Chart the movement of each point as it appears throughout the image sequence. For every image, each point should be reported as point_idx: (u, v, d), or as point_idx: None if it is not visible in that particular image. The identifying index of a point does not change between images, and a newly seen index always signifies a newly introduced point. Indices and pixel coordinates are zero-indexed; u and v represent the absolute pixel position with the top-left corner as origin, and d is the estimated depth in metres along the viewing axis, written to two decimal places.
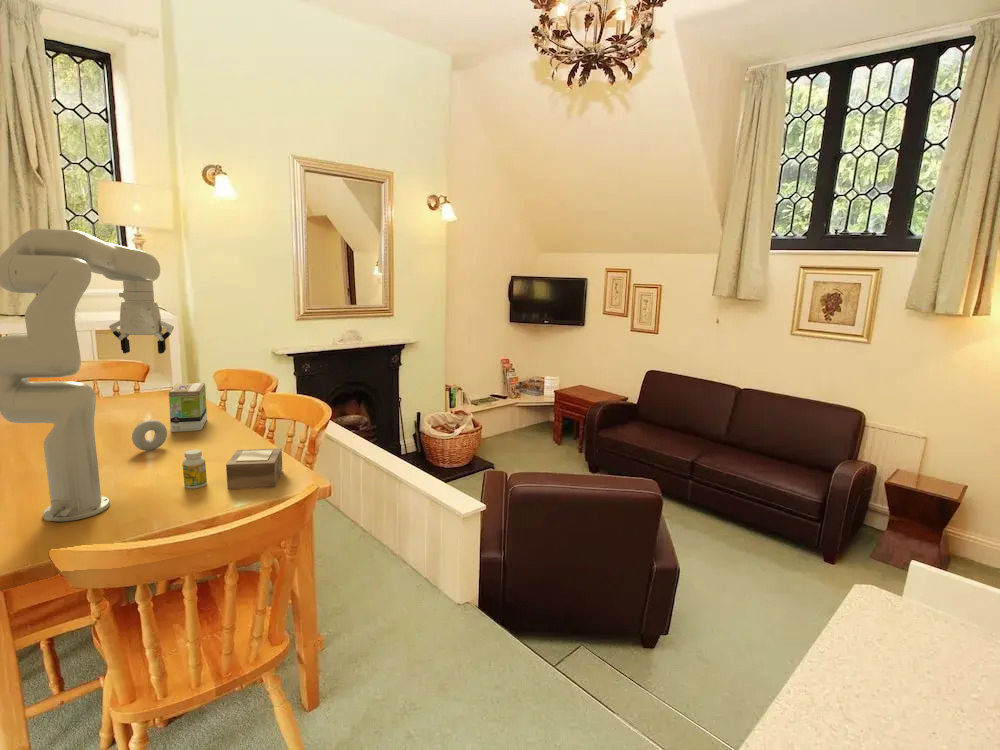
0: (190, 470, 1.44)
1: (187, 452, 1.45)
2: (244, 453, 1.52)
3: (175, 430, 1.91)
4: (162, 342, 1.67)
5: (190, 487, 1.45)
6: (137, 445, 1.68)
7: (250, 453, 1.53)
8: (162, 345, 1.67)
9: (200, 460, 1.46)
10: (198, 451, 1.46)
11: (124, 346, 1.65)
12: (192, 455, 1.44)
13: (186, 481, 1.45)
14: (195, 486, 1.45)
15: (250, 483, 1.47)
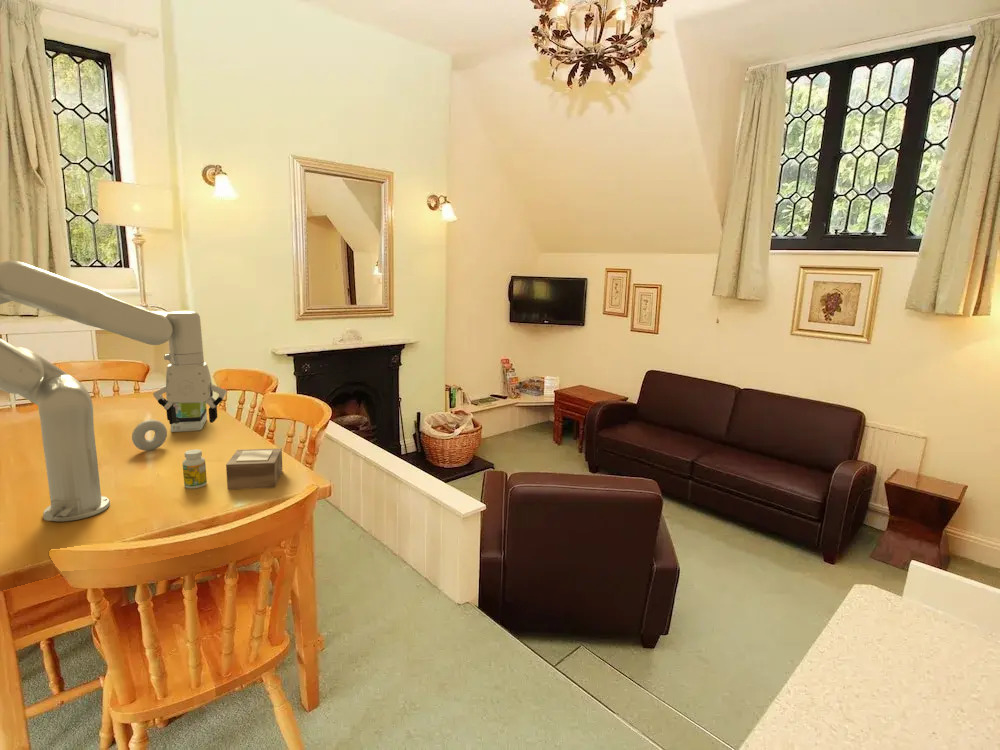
0: (190, 470, 1.44)
1: (187, 452, 1.45)
2: (244, 453, 1.52)
3: (175, 430, 1.91)
4: (214, 409, 1.44)
5: (190, 487, 1.45)
6: (137, 445, 1.68)
7: (250, 453, 1.53)
8: (214, 413, 1.44)
9: (200, 460, 1.46)
10: (198, 451, 1.46)
11: (171, 416, 1.42)
12: (192, 455, 1.44)
13: (186, 481, 1.45)
14: (195, 486, 1.45)
15: (250, 483, 1.47)
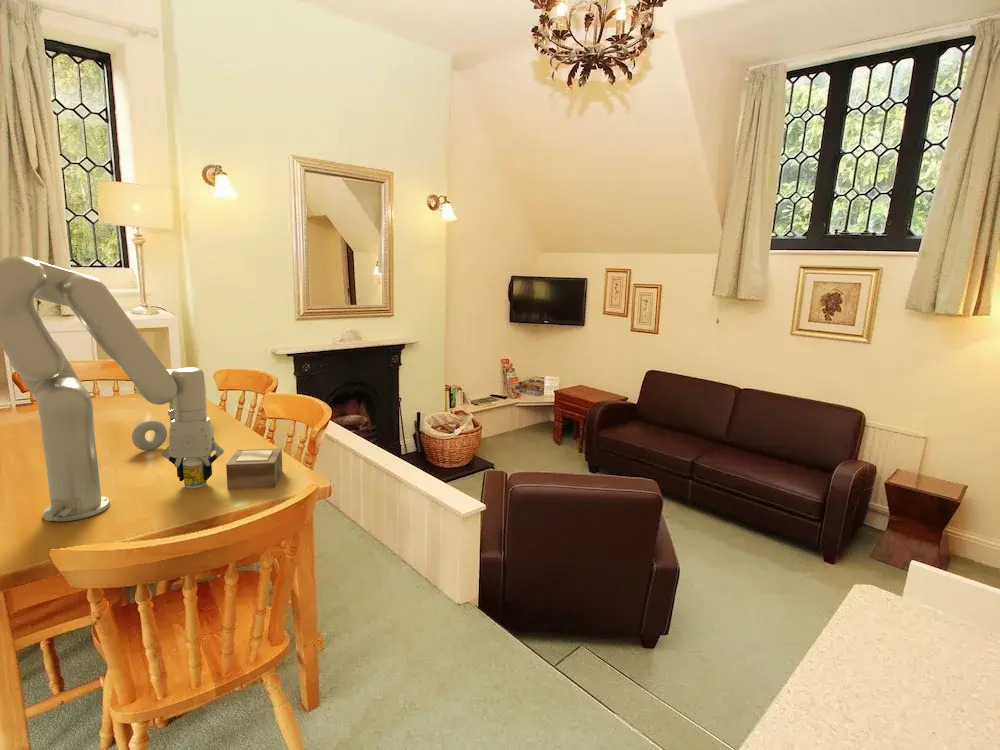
0: (190, 469, 1.44)
1: None
2: (244, 453, 1.52)
3: None
4: (208, 467, 1.47)
5: (190, 487, 1.45)
6: (137, 445, 1.68)
7: (250, 453, 1.53)
8: (208, 470, 1.47)
9: (200, 460, 1.46)
10: None
11: (181, 473, 1.45)
12: None
13: (186, 481, 1.45)
14: (195, 486, 1.45)
15: (250, 483, 1.47)
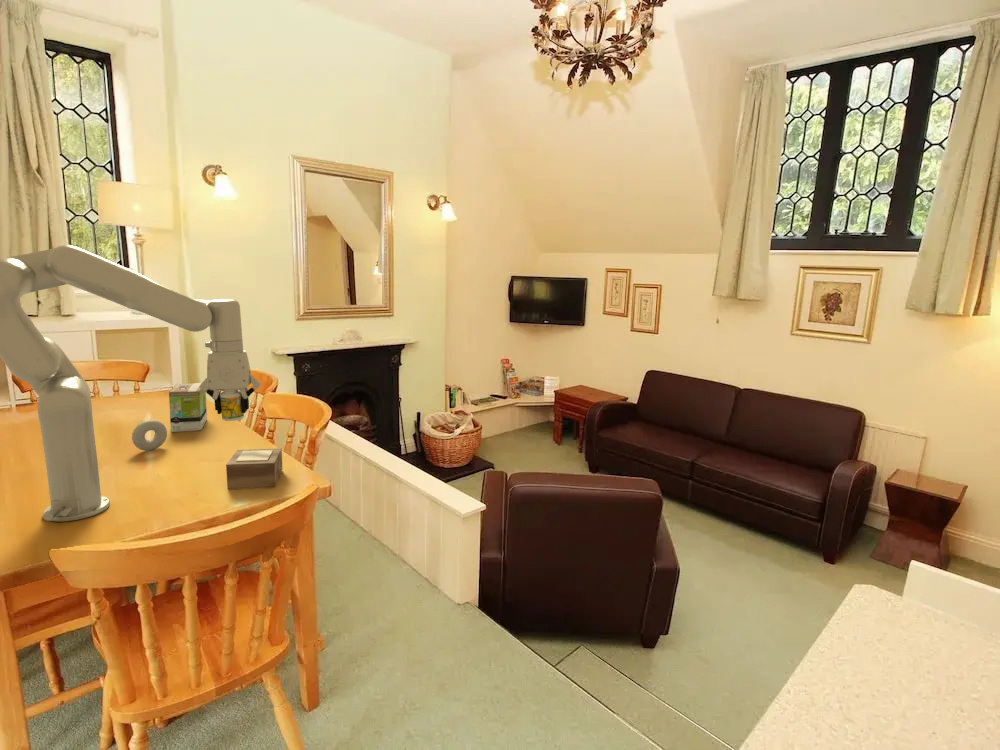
0: (228, 401, 1.44)
1: None
2: (244, 453, 1.52)
3: (175, 430, 1.91)
4: (246, 400, 1.47)
5: (228, 419, 1.45)
6: (137, 445, 1.68)
7: (250, 453, 1.53)
8: (246, 403, 1.47)
9: (237, 392, 1.46)
10: None
11: (219, 406, 1.45)
12: None
13: (224, 413, 1.45)
14: (233, 418, 1.45)
15: (250, 483, 1.47)
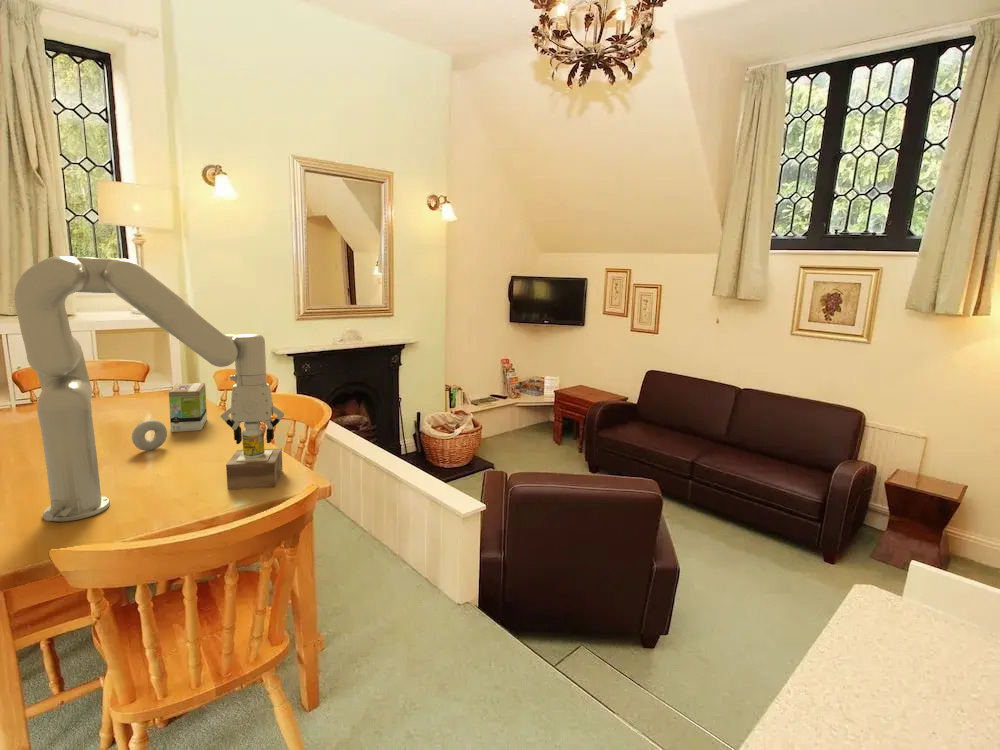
0: (250, 439, 1.48)
1: (247, 422, 1.49)
2: None
3: (175, 430, 1.91)
4: (271, 430, 1.50)
5: (250, 457, 1.49)
6: (137, 445, 1.68)
7: None
8: (271, 434, 1.50)
9: (259, 430, 1.49)
10: (257, 422, 1.50)
11: (238, 436, 1.48)
12: (252, 425, 1.48)
13: (245, 451, 1.48)
14: (254, 456, 1.49)
15: (250, 483, 1.47)
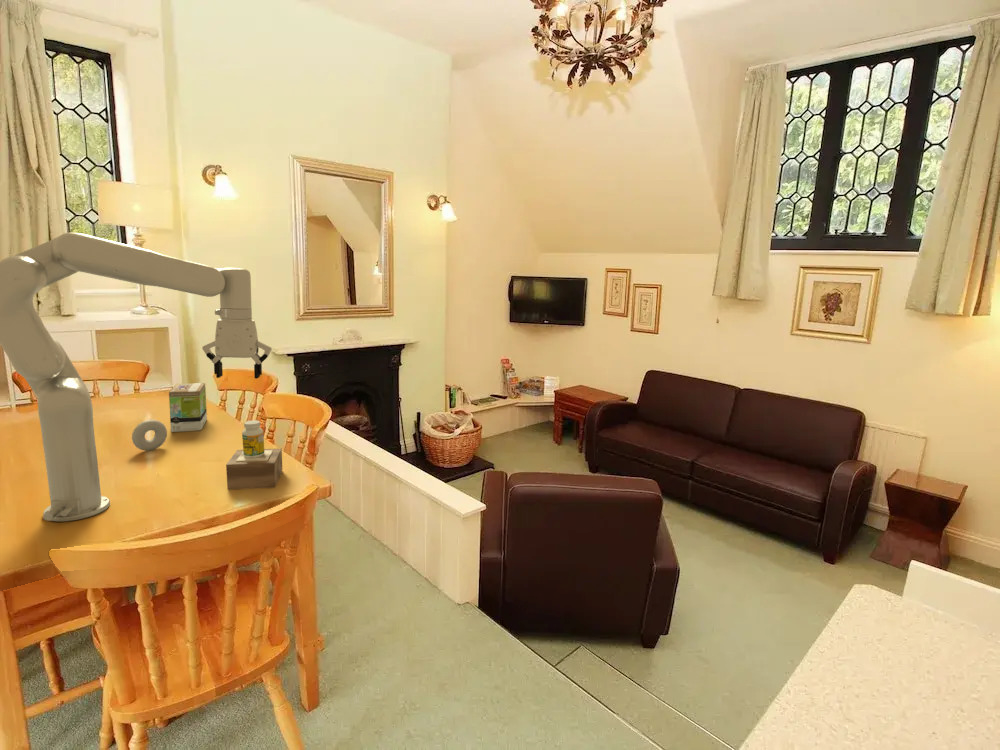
0: (250, 439, 1.48)
1: (246, 422, 1.49)
2: None
3: (175, 430, 1.91)
4: (259, 366, 1.48)
5: (249, 457, 1.49)
6: (137, 445, 1.68)
7: None
8: (259, 369, 1.48)
9: (259, 430, 1.49)
10: (257, 422, 1.50)
11: (218, 370, 1.46)
12: (252, 425, 1.48)
13: (245, 451, 1.49)
14: (254, 456, 1.49)
15: (250, 483, 1.47)
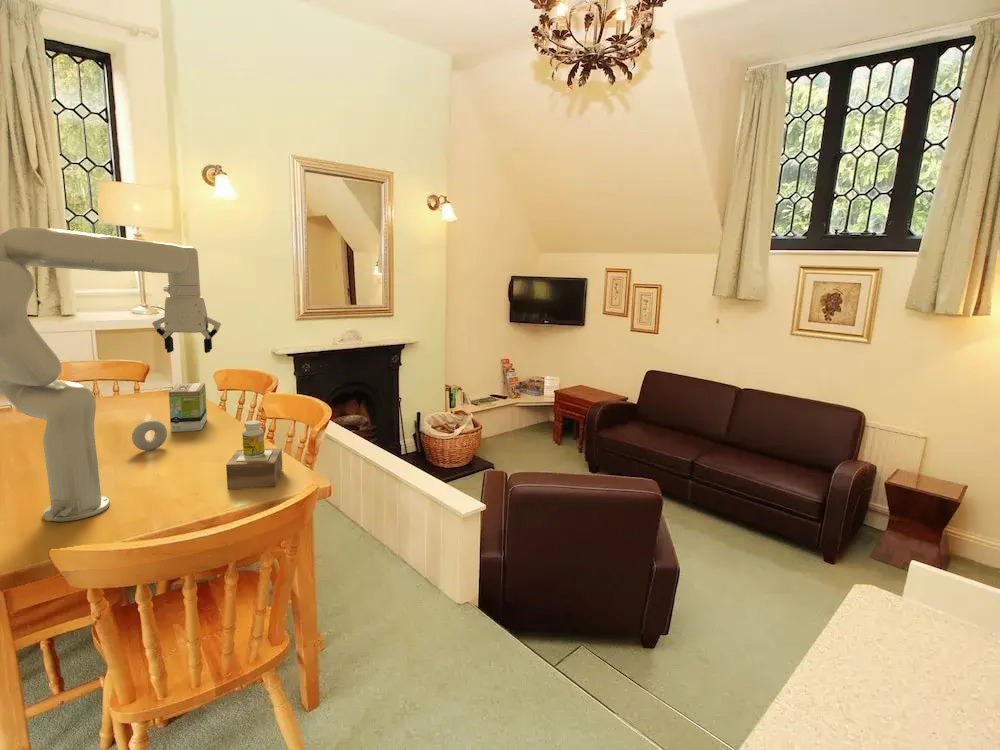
0: (250, 439, 1.48)
1: (247, 422, 1.49)
2: None
3: (175, 430, 1.91)
4: (209, 340, 1.54)
5: (249, 457, 1.49)
6: (137, 445, 1.68)
7: None
8: (209, 344, 1.54)
9: (259, 430, 1.49)
10: (257, 422, 1.50)
11: (168, 345, 1.52)
12: (252, 425, 1.48)
13: (245, 450, 1.49)
14: (254, 456, 1.49)
15: (250, 483, 1.47)
